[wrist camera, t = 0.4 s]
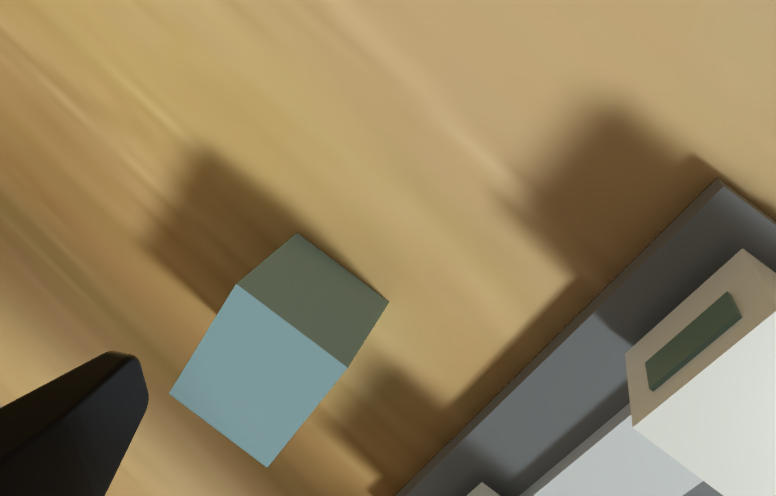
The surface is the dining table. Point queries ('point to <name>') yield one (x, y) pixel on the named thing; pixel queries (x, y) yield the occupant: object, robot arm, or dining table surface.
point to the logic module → (278, 347)
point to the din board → (596, 353)
